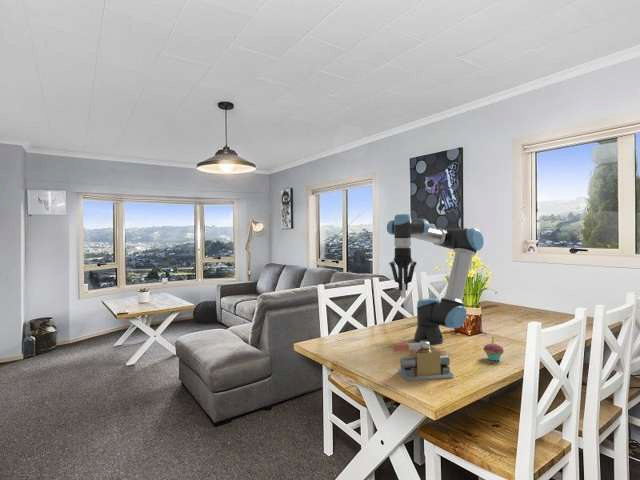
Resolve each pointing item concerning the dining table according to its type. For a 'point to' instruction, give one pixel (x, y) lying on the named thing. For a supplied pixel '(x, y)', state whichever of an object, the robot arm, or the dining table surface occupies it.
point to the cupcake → (493, 350)
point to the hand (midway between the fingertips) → (403, 297)
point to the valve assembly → (425, 365)
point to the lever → (412, 346)
